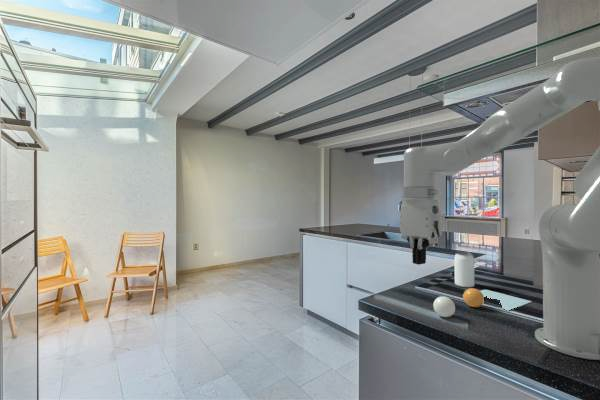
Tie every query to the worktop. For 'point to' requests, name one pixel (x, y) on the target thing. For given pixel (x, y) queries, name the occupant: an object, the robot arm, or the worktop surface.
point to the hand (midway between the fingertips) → (419, 263)
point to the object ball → (473, 297)
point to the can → (464, 269)
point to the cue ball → (444, 306)
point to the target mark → (505, 299)
